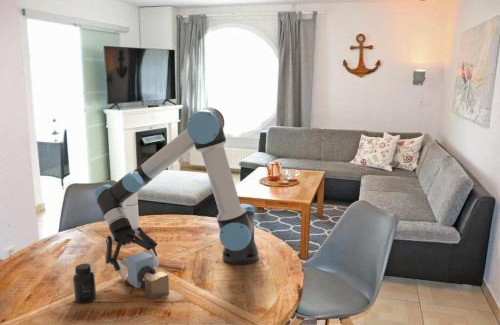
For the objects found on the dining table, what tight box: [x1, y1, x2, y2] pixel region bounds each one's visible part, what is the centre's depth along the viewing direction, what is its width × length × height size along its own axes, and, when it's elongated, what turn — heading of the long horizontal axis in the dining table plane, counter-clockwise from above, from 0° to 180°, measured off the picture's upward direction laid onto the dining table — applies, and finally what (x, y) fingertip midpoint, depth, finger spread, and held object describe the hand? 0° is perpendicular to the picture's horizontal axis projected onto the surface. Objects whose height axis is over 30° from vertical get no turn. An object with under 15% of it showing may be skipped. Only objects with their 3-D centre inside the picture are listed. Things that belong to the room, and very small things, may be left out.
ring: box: [138, 266, 156, 286], centre depth 150 cm, size 2×6×6 cm, turn 135°
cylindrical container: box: [122, 191, 140, 230], centre depth 211 cm, size 7×7×25 cm
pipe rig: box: [120, 258, 170, 301], centre depth 153 cm, size 25×7×7 cm, turn 45°
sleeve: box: [126, 251, 155, 289], centre depth 153 cm, size 6×7×10 cm
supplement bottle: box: [72, 263, 97, 304], centre depth 143 cm, size 7×7×12 cm
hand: (141, 271), depth 152 cm, fingers open, 13 cm apart
